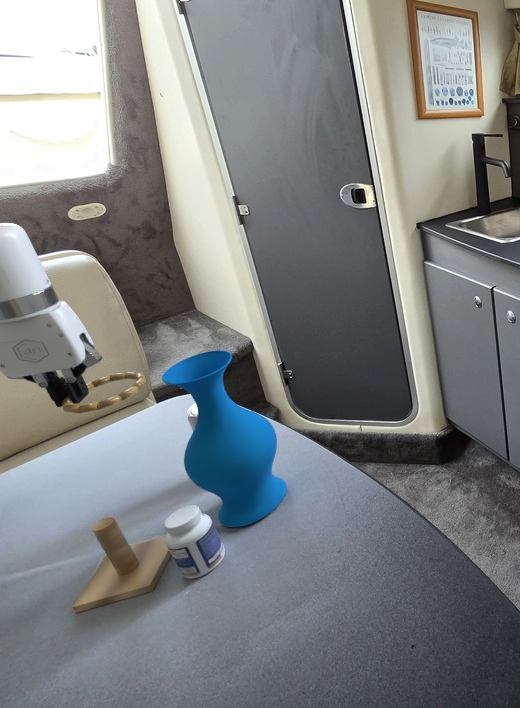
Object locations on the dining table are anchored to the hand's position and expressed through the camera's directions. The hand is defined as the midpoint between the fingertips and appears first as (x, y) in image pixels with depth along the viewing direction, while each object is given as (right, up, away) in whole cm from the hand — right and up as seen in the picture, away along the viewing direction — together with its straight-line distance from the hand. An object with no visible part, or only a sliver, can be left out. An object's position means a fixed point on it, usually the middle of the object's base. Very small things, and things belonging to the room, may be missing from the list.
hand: (73, 399), depth 83 cm
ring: (+4, +1, +1) cm, 5 cm away
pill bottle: (+29, -22, -8) cm, 38 cm away
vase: (+30, -18, +2) cm, 35 cm away
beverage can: (+21, -16, +9) cm, 28 cm away
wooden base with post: (+19, -23, -10) cm, 31 cm away
